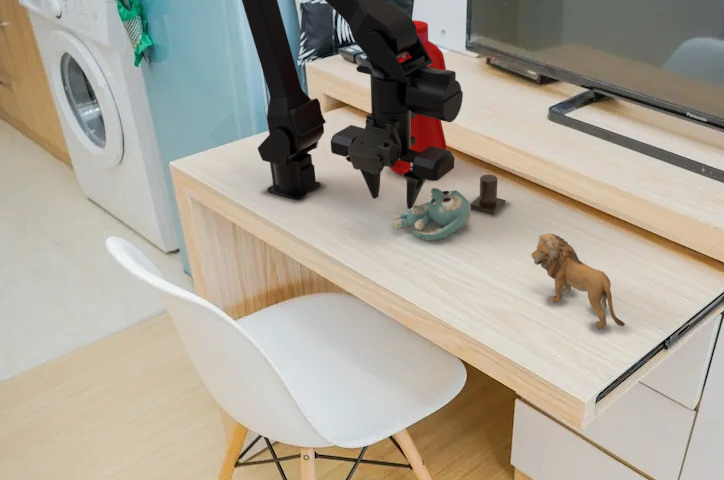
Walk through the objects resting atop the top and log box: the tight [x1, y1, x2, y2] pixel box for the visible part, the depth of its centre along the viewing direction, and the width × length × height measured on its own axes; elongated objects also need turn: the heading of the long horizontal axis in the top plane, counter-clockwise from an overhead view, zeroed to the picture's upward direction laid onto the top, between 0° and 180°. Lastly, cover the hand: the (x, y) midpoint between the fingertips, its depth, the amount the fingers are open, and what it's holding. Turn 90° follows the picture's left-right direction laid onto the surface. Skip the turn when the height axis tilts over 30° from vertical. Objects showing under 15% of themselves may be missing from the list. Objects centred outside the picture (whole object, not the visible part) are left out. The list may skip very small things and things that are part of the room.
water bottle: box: [389, 19, 447, 176], centre depth 132 cm, size 9×11×25 cm
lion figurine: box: [530, 232, 626, 330], centre depth 103 cm, size 15×5×9 cm, turn 50°
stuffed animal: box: [393, 187, 472, 241], centre depth 121 cm, size 11×7×12 cm
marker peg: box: [470, 174, 507, 215], centre depth 128 cm, size 4×4×5 cm
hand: (392, 203), depth 124 cm, fingers open, 6 cm apart
